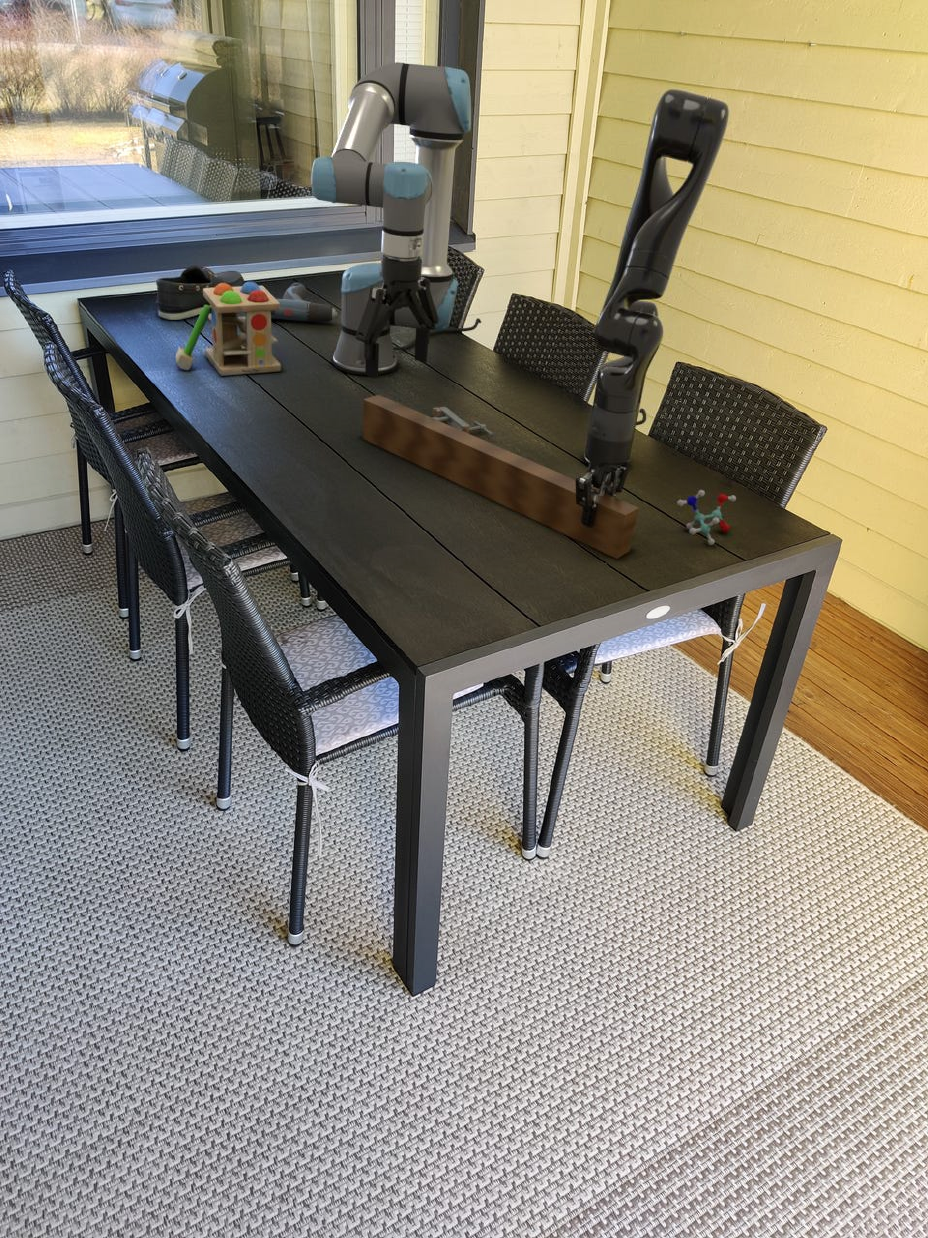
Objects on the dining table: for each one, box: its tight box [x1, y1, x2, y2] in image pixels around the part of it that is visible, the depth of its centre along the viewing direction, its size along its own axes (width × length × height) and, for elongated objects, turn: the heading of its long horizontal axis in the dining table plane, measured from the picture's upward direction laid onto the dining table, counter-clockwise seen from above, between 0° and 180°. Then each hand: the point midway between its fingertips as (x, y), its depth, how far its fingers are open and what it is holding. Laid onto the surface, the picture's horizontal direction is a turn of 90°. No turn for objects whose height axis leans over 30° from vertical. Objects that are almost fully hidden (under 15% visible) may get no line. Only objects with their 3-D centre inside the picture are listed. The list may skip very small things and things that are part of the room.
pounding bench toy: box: [174, 281, 282, 377], centre depth 225 cm, size 23×14×18 cm, turn 116°
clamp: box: [431, 406, 495, 438], centre depth 210 cm, size 15×2×10 cm
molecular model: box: [676, 489, 737, 546], centre depth 179 cm, size 12×10×10 cm
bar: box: [362, 394, 639, 560], centre depth 185 cm, size 64×4×9 cm, turn 49°
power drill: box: [271, 282, 338, 322], centre depth 265 cm, size 5×19×20 cm
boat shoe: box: [155, 264, 246, 321], centre depth 263 cm, size 13×33×10 cm, turn 147°
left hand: (396, 368), depth 191 cm, fingers open, 13 cm apart
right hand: (595, 520), depth 173 cm, fingers open, 4 cm apart
